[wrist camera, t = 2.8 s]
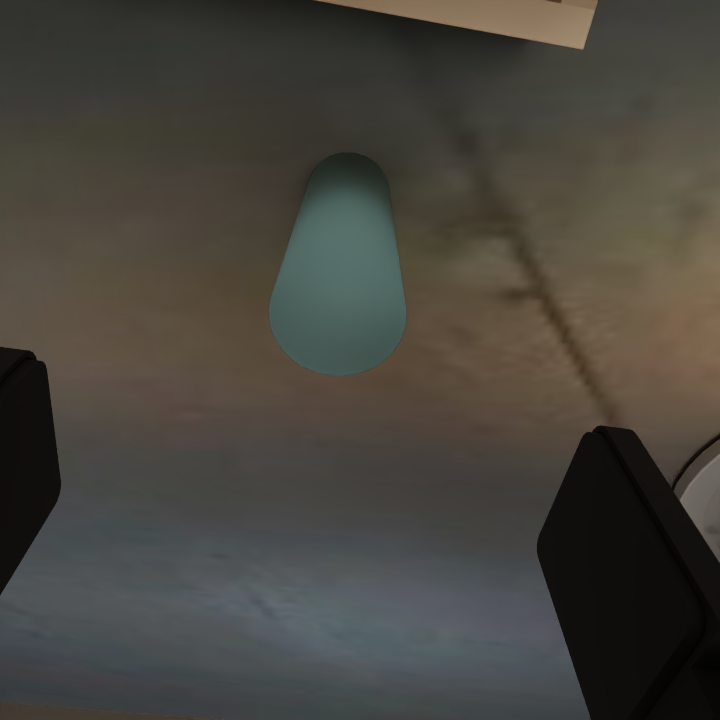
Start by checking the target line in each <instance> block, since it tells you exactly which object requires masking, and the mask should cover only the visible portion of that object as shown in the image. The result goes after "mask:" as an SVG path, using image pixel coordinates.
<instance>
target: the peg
mask: <svg viewBox="0 0 720 720" xmlns="http://www.w3.org/2000/svg"><path fill="white" fill-rule="evenodd" d="M269 321H270V326H271V330H272V333H273V335H274V337H275V339H276V341H277V343H278V344H279V346H280V347H281V349H282V350H283V351H284V352H285V353H286V354H287V355H288V356H289V357H290V358H291V359H292V360H293V361H295V362H296V363H297V364H299V365H301V366H302V367H304V368H306V369H309V370H311V371H313V372H317V373H320V374H325V375H331V376H347V375H354V374H358V373H362V372H364V371H367V370H370V369H372V368H373V367H375V366H377V365H379V364H380V363H381V362H383V361H384V360H385V359H386V358H388V357H389V356H390V355H391V353H392V352H393V351H394V350H395V349H396V347H397V345H398V344H399V342H400V340H401V338H402V336H403V333H404V330H405V325H406V306H405V298H404V291H403V284H402V277H401V270H400V263H399V256H398V249H397V242H396V234H395V227H394V220H393V213H392V206H391V199H390V192H389V185H388V182H387V179H386V177H385V175H384V173H383V171H382V170H381V169H380V167H379V166H378V165H377V164H376V163H375V162H373V161H372V160H371V159H369V158H367V157H365V156H363V155H360V154H356V153H339V154H336V155H332V156H330V157H328V158H327V159H325V160H324V161H322V162H321V163H320V164H319V165H318V166H317V167H316V168H315V170H314V171H313V173H312V175H311V177H310V179H309V182H308V185H307V188H306V191H305V194H304V197H303V200H302V204H301V207H300V210H299V213H298V216H297V219H296V222H295V225H294V228H293V231H292V234H291V237H290V241H289V244H288V247H287V250H286V253H285V256H284V259H283V262H282V265H281V268H280V271H279V274H278V277H277V281H276V284H275V287H274V290H273V293H272V296H271V299H270V305H269Z"/></svg>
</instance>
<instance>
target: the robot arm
mask: <svg viewBox="0 0 720 720" xmlns="http://www.w3.org/2000/svg"><path fill="white" fill-rule="evenodd" d="M60 489H61V479H60V471H59V463H58V455H57V447H56V439H55V431H54V423H53V415H52V407H51V399H50V391H49V383H48V375H47V368H46V365H45V363H44V362H42V361H37V359H36V356H35V355H34V353H33V352H31V351H27V350H20V349H12V348H4V347H0V595H1V593H2V592H3V590H4V588H5V587H6V585H7V583H8V582H9V580H10V578H11V577H12V575H13V573H14V572H15V570H16V568H17V567H18V565H19V564H20V562H21V560H22V559H23V557H24V555H25V554H26V552H27V550H28V549H29V547H30V545H31V544H32V542H33V541H34V539H35V537H36V536H37V534H38V532H39V531H40V529H41V527H42V526H43V524H44V522H45V521H46V519H47V517H48V516H49V514H50V513H51V511H52V509H53V508H54V506H55V504H56V502H57V500H58V497H59V494H60ZM537 554H538V558H539V561H540V565H541V568H542V571H543V574H544V577H545V580H546V583H547V586H548V589H549V592H550V595H551V598H552V601H553V604H554V607H555V610H556V613H557V617H558V620H559V623H560V626H561V629H562V632H563V635H564V638H565V641H566V644H567V647H568V650H569V653H570V656H571V659H572V662H573V665H574V668H575V672H576V675H577V678H578V681H579V684H580V687H581V690H582V693H583V696H584V699H585V702H586V705H587V708H588V711H589V714H590V717H591V720H720V439H719V440H717V441H716V442H715V443H714V444H712V445H711V446H710V447H708V448H707V449H706V450H704V451H703V452H702V453H701V454H700V455H699V456H698V457H697V458H696V459H695V460H694V461H693V462H692V463H691V465H690V466H689V467H688V468H687V469H686V471H685V472H684V474H683V475H682V476H681V478H680V479H679V481H678V482H677V484H676V486H675V489H674V491H673V490H672V488H671V487H670V485H669V484H668V482H667V481H666V479H665V478H664V476H663V475H662V473H661V472H660V470H659V468H658V467H657V465H656V464H655V462H654V461H653V459H652V458H651V456H650V455H649V453H648V452H647V450H646V448H645V447H644V445H643V444H642V442H641V441H640V439H639V438H638V436H637V435H636V433H635V432H634V431H633V430H630V429H624V428H616V427H609V426H601V425H600V426H597V427H596V428H595V429H594V430H593V431H592V432H587V433H585V434H584V435H583V437H582V439H581V441H580V443H579V445H578V448H577V450H576V452H575V454H574V457H573V459H572V461H571V464H570V466H569V468H568V470H567V473H566V475H565V477H564V480H563V482H562V484H561V487H560V489H559V491H558V493H557V496H556V498H555V500H554V503H553V505H552V507H551V509H550V512H549V514H548V516H547V519H546V521H545V523H544V525H543V528H542V530H541V532H540V535H539V537H538V542H537ZM0 720H218V719H206V718H194V717H181V716H168V715H156V714H143V713H130V712H117V711H105V710H92V709H79V708H66V707H53V706H41V705H28V704H15V703H2V702H0Z"/></svg>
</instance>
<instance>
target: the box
mask: <svg viewBox="0 0 720 720" xmlns="http://www.w3.org/2000/svg"><path fill="white" fill-rule="evenodd" d="M314 1H320V2H325V3H331V4H336V5H342V6H347V7H353V8H358V9H363V10H369V11H374V12H380V13H385V14H391V15H396V16H402V17H407V18H412V19H418V20H423V21H429V22H434V23H440V24H445V25H450V26H456V27H461V28H467V29H472V30H478V31H483V32H489V33H494V34H499V35H505V36H510V37H516V38H521V39H527V40H532V41H538V42H544V43H549V44H555V45H561V46H566V47H572V48H578V49H583V48H584V44H585V41H586V38H587V35H588V31H589V28H590V25H591V22H592V18H593V15H594V12H595V9H596V5H597V2H598V0H314Z"/></svg>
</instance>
